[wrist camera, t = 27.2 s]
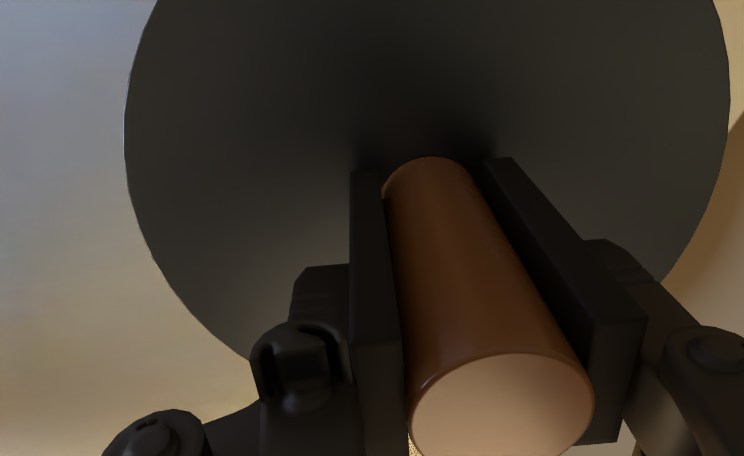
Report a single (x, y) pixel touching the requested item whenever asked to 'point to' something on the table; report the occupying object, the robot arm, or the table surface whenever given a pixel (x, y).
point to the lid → (424, 173)
